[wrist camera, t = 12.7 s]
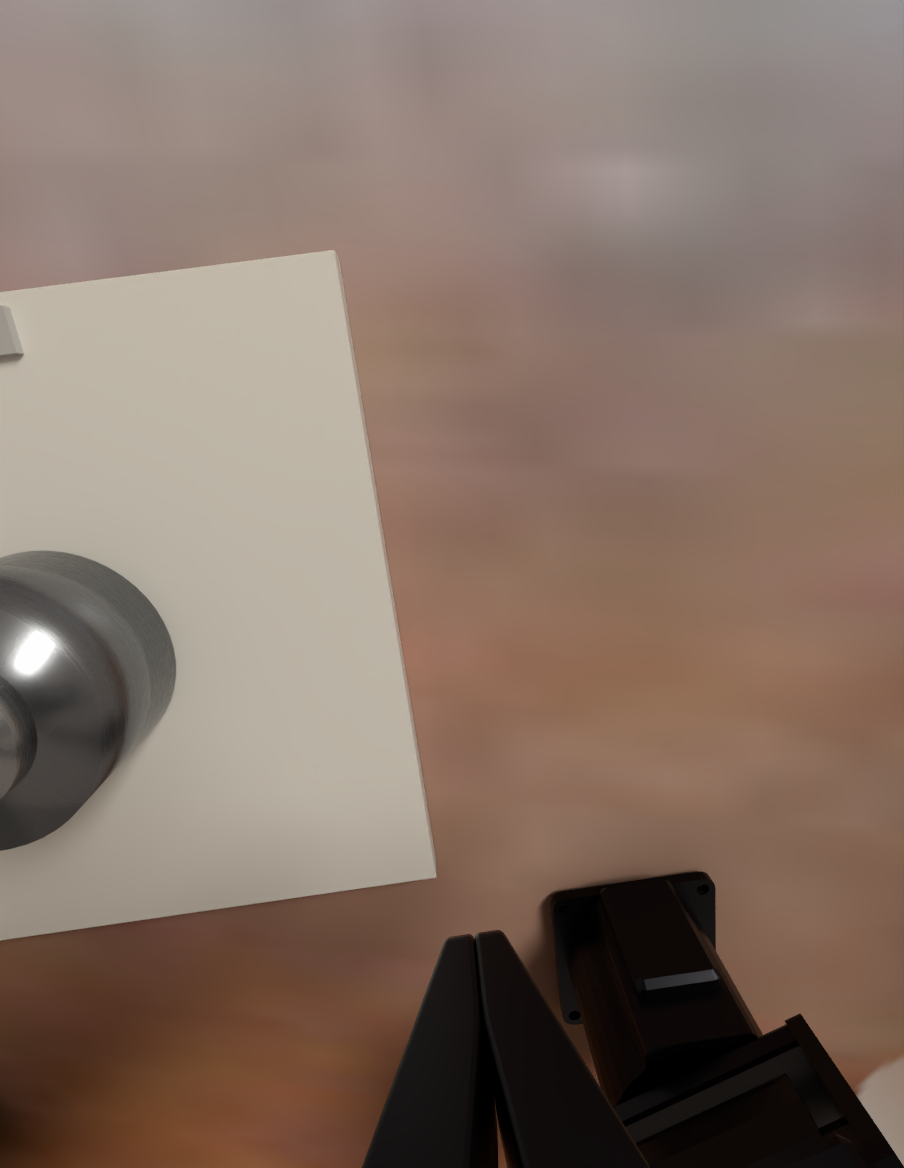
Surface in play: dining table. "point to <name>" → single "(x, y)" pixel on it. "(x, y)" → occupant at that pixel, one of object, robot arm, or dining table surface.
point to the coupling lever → (71, 685)
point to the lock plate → (217, 588)
